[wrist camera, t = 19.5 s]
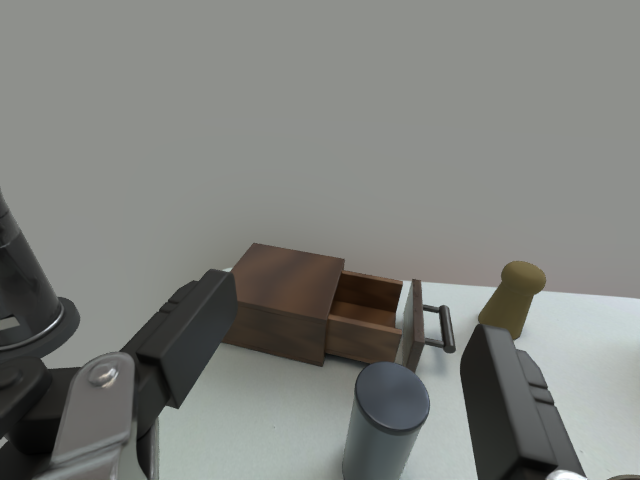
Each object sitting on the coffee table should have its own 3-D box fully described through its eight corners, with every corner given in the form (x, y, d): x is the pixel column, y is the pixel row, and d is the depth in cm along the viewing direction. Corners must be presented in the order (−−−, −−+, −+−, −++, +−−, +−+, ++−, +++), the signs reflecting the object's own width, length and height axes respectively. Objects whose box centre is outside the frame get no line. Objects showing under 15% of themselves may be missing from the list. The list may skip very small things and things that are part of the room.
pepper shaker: (514, 314, 49) (543, 258, 43) (526, 343, 44) (562, 285, 38) (474, 306, 50) (498, 251, 44) (482, 334, 45) (510, 277, 39)
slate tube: (346, 508, 27) (364, 434, 20) (336, 441, 32) (349, 362, 25) (406, 501, 28) (443, 427, 21) (388, 436, 33) (414, 358, 26)
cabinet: (340, 301, 50) (344, 258, 45) (322, 367, 39) (326, 319, 35) (256, 284, 52) (253, 242, 48) (219, 341, 42) (210, 294, 37)
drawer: (439, 320, 46) (452, 285, 43) (448, 388, 37) (465, 351, 33) (325, 297, 49) (328, 263, 46) (306, 354, 40) (308, 317, 36)
